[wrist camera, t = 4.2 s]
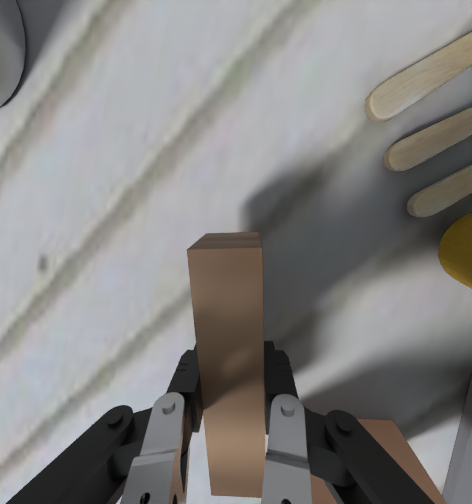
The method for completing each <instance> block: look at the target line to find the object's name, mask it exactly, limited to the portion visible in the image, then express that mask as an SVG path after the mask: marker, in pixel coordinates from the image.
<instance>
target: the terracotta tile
mask: <svg viewBox="0 0 472 504" xmlns="http://www.w3.org/2000/svg"><path fill="white" fill-rule="evenodd" d="M357 420H358V421H359V422H360V424H361V425H362V426H363V427H364V428H365V429H366V430H367V431H368V432H369V433H370V434H371V435H372V436H373V438H374V439H375V440H376V441H377V442H378V443H379V444H380V445H381V446H382V447H383V448H384V449H385V450H386V451H387V453H388V454H389V455H390V456H391V457H392V458H393V459H394V460H395V461H396V462H397V463H398V464H399V465H400V467H401V468H402V469H403V470H404V471H405V472H406V473H407V474H408V475H409V476H410V477H411V478H412V479H413V480H414V482H415V483H416V484H417V485H418V486H419V487H420V488H421V489H422V490H423V491H424V492H425V493H426V494H427V496H428V497H429V498H430V499H431V500H432V501H433V502H434V503H435V504H447V503H446V501H445V500H444V498H443V497H442V495H441V494H440V492H439V491H438V489H437V487H436V486H435V484H434V483H433V481H432V480H431V478H430V477H429V475H428V473H427V472H426V470H425V469H424V467H423V466H422V464H421V463H420V461H419V459H418V458H417V456H416V455H415V453H414V452H413V450H412V449H411V447H410V446H409V444H408V442H407V441H406V439H405V438H404V436H403V435H402V433H401V432H400V430H399V428H398V427H397V425H396V424H395V422H394V421H393V420H377V419H357ZM310 480H311V494H312V504H337V502H336V501H335V499H334V498H333V496H332V494H331V493H330V491H329V489H328V488H327V486H326V484H325V482H324V480H323V479H321V478H318V477H316V476H314V475H311V474H310Z"/></svg>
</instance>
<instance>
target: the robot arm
mask: <svg viewBox="0 0 472 504" xmlns="http://www.w3.org/2000/svg"><path fill="white" fill-rule="evenodd" d="M25 51H26V50H25V32H24V27H23V23H22V18H21V14H20V11H19V8H18V5H17V3H16V0H0V106H1V105H2V104H3V103H4V102H5V101H6V100H7V99H9V98H10V97H11V95H12V93H13V92H14V90H15V88H16V87H17V85H18V83H19V80H20V77H21V74H22V71H23V68H24V60H25ZM202 415H203V402H202V392H201V382H200V373H199V366H198V356H197V346H196V345H195V347H194V350H187V351H186V352H185V353H184V354H183V355H182V356H181V359H180V361H179V363H178V366H177V368H176V371H175V373H174V375H173V378H172V380H171V382H170V385H169V387H168V390H167V392H166V394H164V395H163V396H161V397H160V398H159V399H158V400H157V401H156V402H155V403H154V405H153V407H151V408H149V409H146V410H143V411H139V412H136V413H133V410H132V408H131V407H129V406H126V405H121V406H117V407H115V408H113V409H111V410H109V411H108V412H106V413H105V414H104V415H103V416H102V417H101V418H100V419H99V420H97V421H96V422H95V423H94V424H93V425H92V426H91V427H90V428H89V429H88V430H86V431H85V432H84V433H83V434H82V435H81V436H80V437H79V438H78V439H76V440H75V441H74V442H73V443H72V444H71V445H70V446H69V447H68V448H66V449H65V450H64V451H63V452H62V453H61V454H60V455H59V456H58V457H57V458H55V459H54V460H53V461H52V462H51V463H50V464H49V465H48V466H47V467H45V468H44V469H43V470H42V471H41V472H40V473H39V474H38V475H37V476H36V477H34V478H33V479H32V480H31V481H30V482H29V483H28V484H27V485H26V486H24V487H23V488H22V489H21V490H20V491H19V492H18V493H17V494H16V495H14V496H13V497H12V498H11V499H10V500H9V501H8V502H7V503H6V504H116V503H117V501H118V500H119V499H120V497H121V496H122V498H121V502H120V504H186V495H187V482H188V468H189V455H190V440H191V436H192V432H198V433H199V429H200V424H201V420H202ZM264 416H265V430H266V435H269V438H268V449H267V452H266V458H265V468H264V478H263V489H262V500H261V504H312V494H311V480H310V474H311V475H314V476H316V477H318V478H321V479H323V480H324V482H325V484H326V486H327V488H328V489H329V491H330V493H331V494H332V496H333V498H334V499H335V501H336V502H337V504H435V503H434V502H433V501H432V500H431V499H430V498H429V497H428V496H427V494H426V493H425V492H424V491H423V490H422V489H421V488H420V487H419V486H418V485H417V484H416V483H415V482H414V480H413V479H412V478H411V477H410V476H409V475H408V474H407V473H406V472H405V471H404V470H403V469H402V468H401V467H400V465H399V464H398V463H397V462H396V461H395V460H394V459H393V458H392V457H391V456H390V455H389V454H388V453H387V451H386V450H385V449H384V448H383V447H382V446H381V445H380V444H379V443H378V442H377V441H376V440H375V439H374V438H373V436H372V435H371V434H370V433H369V432H368V431H367V430H366V429H365V428H364V427H363V426H362V425H361V424H360V422H359V421H358V420H357V419H356V418H355V417H353V416H352V415H350V414H349V413H347V412H344V411H341V410H333V411H330V412H329V413H328V414H327V415H326V416H323V415H320V414H317V413H314V412H312V411H310V410H308V409H307V408H306V407H305V406H304V405H303V404H302V403H301V402H300V400H299V398H298V395H297V391H296V387H295V382H294V378H293V374H292V370H291V366H290V362H289V358H288V356H287V355H286V354H285V352H284V351H283V350H275V349H274V343H273V341H264Z"/></svg>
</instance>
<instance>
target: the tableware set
mask: <svg viewBox="0 0 472 504" xmlns="http://www.w3.org/2000/svg"><path fill="white" fill-rule="evenodd" d="M471 65H472V32H470V33H469V34H467V35H465V36H463V37H462V38H460V39H458V40H456V41H455V42H453V43H451V44H449V45H448V46H446V47H444V48H442V49H441V50H439V51H437V52H435V53H434V54H432V55H430V56H428V57H427V58H425V59H423V60H421V61H420V62H418V63H416V64H414V65H412V66H411V67H409V68H407V69H405V70H404V71H402V72H400V73H398V74H397V75H395V76H393V77H391V78H390V79H388V80H387V81H385V82H384V83H382V84H381V85H379V86H378V87H377V88H376V89H374V90H373V91H372V92H371V93H370V95H369V96H368V97H367V99H366V100H365V112H366V114H367V117H368V118H369V119H370V120H371V121H373V122H379V123H380V122H385V121H387V120H389V119H391V118H393V117H395V116H396V115H398V114H399V113H401V112H402V111H404V110H405V109H407V108H408V107H410V106H412V105H413V104H415V103H416V102H418V101H419V100H421V99H422V98H424V97H425V96H427V95H428V94H430V93H431V92H433V91H434V90H436V89H437V88H439V87H440V86H442V85H443V84H445V83H446V82H448V81H449V80H450V79H452V78H453V77H455V76H456V75H458V74H459V73H461V72H462V71H464V70H465V69H467V68H468V67H470V66H471ZM471 135H472V107H471V108H469V109H467V110H464V111H462V112H460V113H458V114H456V115H454V116H452V117H449V118H447V119H445V120H443V121H441V122H439V123H436V124H434V125H432V126H430V127H428V128H426V129H423V130H421V131H419V132H417V133H415V134H413V135H411V136H409V137H407V138H405V139H403V140H401V141H399V142H397V143H395V144H393V145H392V146H391V147H389V148H388V149H387V151H386V152H385V154H384V159H383V160H384V165H385V168H387V169H388V170H389V171H392V172H400V171H405V170H408V169H410V168H412V167H414V166H417V165H419V164H420V163H422V162H424V161H426V160H428V159H429V158H431V157H433V156H435V155H437V154H438V153H440V152H442V151H444V150H446V149H448V148H449V147H451V146H453V145H455V144H457V143H458V142H460V141H462V140H464V139H466V138H467V137H469V136H471ZM471 193H472V164H471V165H469V166H467V167H465V168H463V169H461V170H459V171H457V172H455V173H453V174H451V175H450V176H448V177H446V178H444V179H442V180H440V181H438V182H436V183H434V184H432V185H430V186H429V187H427V188H425V189H423V190H421V191H419V192H417V193H416V194H414V195H413V196H412V197H411V198H410V199H409V201H408V203H407V211H408V213H409V214H410V215H412V216H415V217H429V216H432V215H435V214H437V213H439V212H440V211H442V210H444V209H446V208H447V207H449V206H451V205H453V204H454V203H456V202H458V201H459V200H461V199H463V198H465V197H466V196H468V195H470V194H471ZM438 256H439V260H440V264H441V265H442V267H443V268H444V270H445V271H446V272H447V273H448V274H449V275H450V276H451V277H453V278H454V279H456V280H458V281H459V282H461V283H463V284H465V285H466V286H468V287H470V288H471V289H472V212H471V213H469V214H467V215H464V216H462V217H461V218H459V219H458V220H456V221H455V222H454V223H453V224H452V225H451V226H450V227H449V228H448V229H447V230H446V232H445V233H444V235H443V236H442V239H441V241H440V244H439V251H438Z"/></svg>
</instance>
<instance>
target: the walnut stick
mask: <svg viewBox="0 0 472 504" xmlns="http://www.w3.org/2000/svg"><path fill="white" fill-rule="evenodd" d="M187 255H188V265H189V275H190V285H191V295H192V305H193V315H194V326H195V336H196V346H197V356H198V366H199V373H200V382H201V392H202V402H203V416H204V426H205V436H206V446H207V456H208V466H209V477H210V487H211V495H214V496H236V497H257V498H262V489H263V478H264V468H265V416H264V324H263V251H262V244H261V240H260V237H259V233H258V232H239V233H209V234H205V235H204V236H203V237H201V238H200V239H199V240H198V241H197V242H196V243H194V244H193V245H192V246H191V247H190V248H188V249H187Z"/></svg>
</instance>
